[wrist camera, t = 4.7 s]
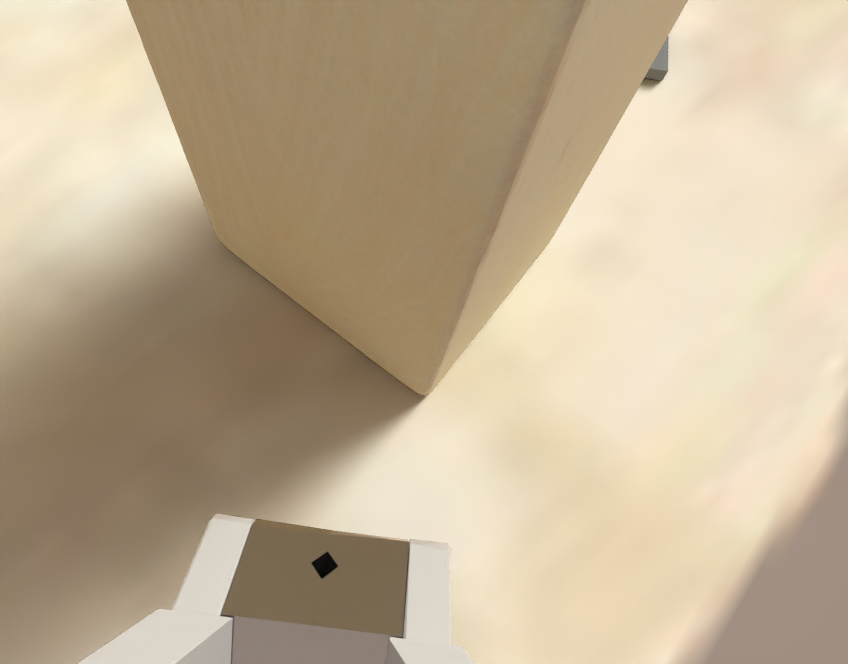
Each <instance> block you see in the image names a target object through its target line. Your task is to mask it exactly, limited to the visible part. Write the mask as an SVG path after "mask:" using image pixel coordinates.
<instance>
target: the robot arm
mask: <svg viewBox="0 0 848 664" xmlns="http://www.w3.org/2000/svg"><path fill="white" fill-rule="evenodd" d="M77 664H476V663H475V662H474V661H473V659H472V658H471V657H470V655H469V654H468V652H467V651H466V650H465V648H464V647H462V646H456V645H451V559H450V547H449V545H448V543H441V542H431V541H422V540H413V539H410V540H409V541H408V540H406V539H398V538H390V537H382V536H373V535H365V534H357V533H349V532H341V531H333V530H326V529H320V528H313V527H307V526H300V525H293V524H287V523H280V522H274V521H267V520H261V519H256V520H254V519H249V518H243V517H236V516H230V515H223V514H217V513H216V514H215V515H214V517H213V518H212V519H211V520H210V521H209V523H208V525H207V527H206V530H205V532H204V534H203V537H202V539H201V541H200V544H199V546H198V548H197V550H196V553H195V555H194V557H193V560H192V562H191V564H190V567H189V569H188V571H187V573H186V576H185V578H184V580H183V583H182V585H181V587H180V590H179V592H178V594H177V596H176V599H175V601H174V603H173V606H172V608H171V610H167V609H157V610H155V611H154V612H152V613H151V614H149V615H148V616H146V617H145V618H144V619H142V620H141V621H139V622H138V623H136V624H135V625H133V626H132V627H130V628H129V629H127V630H126V631H124V632H123V633H121V634H120V635H118V636H117V637H115V638H114V639H112V640H111V641H110V642H108V643H107V644H105V645H104V646H102V647H101V648H99V649H98V650H96V651H95V652H93V653H92V654H90V655H89V656H87V657H86V658H84V659H83V660H81V661H80V662H78V663H77Z"/></svg>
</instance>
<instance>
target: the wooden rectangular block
mask: <svg viewBox="0 0 848 664" xmlns="http://www.w3.org/2000/svg"><path fill="white" fill-rule="evenodd" d="M126 1H127V4H128V7H129V9H130V12H131V14H132V17H133V20H134V22H135V25H136V27H137V30H138V32H139V35H140V37H141V40H142V43H143V46H144V48H145V51H146V54H147V56H148V59H149V61H150V64H151V66H152V69H153V72H154V74H155V77H156V79H157V82H158V84H159V87H160V89H161V92H162V94H163V97H164V100H165V103H166V105H167V108H168V111H169V113H170V116H171V118H172V121H173V124H174V126H175V129H176V131H177V134H178V137H179V139H180V142H181V145H182V147H183V150H184V153H185V155H186V158H187V161H188V163H189V166H190V168H191V171H192V173H193V176H194V178H195V181H196V184H197V186H198V189H199V192H200V194H201V197H202V200H203V202H204V205H205V208H206V210H207V213H208V216H209V218H210V221H211V224H212V226H213V229H214V232H215V234H216V235H217V237H218V239H219V240H220V241H221V242H222V243H223V244H224V245H225V246H226V247H227V248H228V249H229V250H230V251H231V252H232V253H234V254H235V255H236V256H237V257H239V258H240V259H241V260H242V261H244V262H245V263H246V264H247V265H249V266H250V267H251V268H253V269H254V270H255V271H257V272H258V273H259V274H260V275H262V276H263V277H264V278H266V279H267V280H268V281H269V282H271V283H272V284H273V285H275V286H276V287H277V288H279V289H280V290H281V291H282V292H284V293H285V294H286V295H288V296H289V297H290V298H291V299H293V300H294V301H295V302H297V303H298V304H299V305H301V306H302V307H303V308H305V309H306V310H307V311H309V312H310V313H311V314H312V315H314V316H315V317H316V318H318V319H319V320H320V321H322V322H323V323H324V324H326V325H327V326H328V327H330V328H331V329H332V330H333V331H335V332H336V333H337V334H339V335H340V336H341V337H343V338H344V339H345V340H347V341H348V342H349V343H350V344H352V345H353V346H354V347H356V348H357V349H358V350H360V351H361V352H362V353H363V354H365V355H366V356H367V357H368V358H370V359H371V360H372V361H374V362H375V363H376V364H378V365H379V366H380V367H382V368H383V369H384V370H386V371H387V372H388V373H390V374H391V375H392V376H394V377H395V378H396V379H398V380H399V381H400V382H402V383H403V384H404V385H406V386H407V387H408V388H410V389H412V390H413V391H415V392H416V393H418V394H421V395H429V394H430V393H431V391H432V390H433V389H434V388H435V387H436V385H437V384H438V383H439V382H440V380H441V379H442V378H443V376H444V375H445V374H446V373H447V371H448V370H449V369H450V368H451V366H452V365H453V364H454V363H455V361H456V360H457V359H458V357H459V356H460V355H461V354H462V352H463V351H464V350H465V349H466V347H467V346H468V345H469V344H470V342H471V341H472V340H473V339H474V337H475V336H476V335H477V333H478V332H479V331H480V330H481V329H482V327H483V326H484V325H485V324H486V323H487V321H488V320H489V318H490V317H491V316H492V314H493V313H494V312H495V311H496V309H497V308H498V307H499V306H500V304H501V303H502V302H503V301H504V299H505V298H506V297H507V296H508V294H509V293H510V292H511V290H512V289H513V288H514V287H515V285H516V284H517V283H518V282H519V280H520V279H521V278H522V277H523V275H524V274H525V273H526V272H527V270H528V269H529V268H530V266H531V265H532V264H533V263H534V261H535V260H536V259H537V258H538V256H539V255H540V254H541V253H542V251H543V250H544V249H545V247H546V246H547V245H548V244H549V242H550V241H551V239H552V237H553V236H554V234H555V232H556V231H557V229H558V227H559V225H560V224H561V222H562V220H563V219H564V217H565V215H566V214H567V212H568V210H569V208H570V206H571V205H572V203H573V201H574V200H575V198H576V196H577V194H578V193H579V191H580V189H581V188H582V186H583V184H584V182H585V181H586V179H587V177H588V175H589V174H590V172H591V170H592V168H593V167H594V165H595V163H596V161H597V160H598V158H599V156H600V154H601V153H602V151H603V149H604V147H605V146H606V144H607V142H608V140H609V139H610V137H611V135H612V133H613V132H614V130H615V128H616V126H617V124H618V123H619V121H620V119H621V117H622V116H623V114H624V112H625V110H626V109H627V107H628V105H629V104H630V102H631V100H632V98H633V97H634V95H635V93H636V91H637V90H638V88H639V86H640V84H641V83H642V81H643V79H644V77H645V75H646V74H647V72H648V70H649V68H650V67H651V65H652V63H653V61H654V60H655V58H656V56H657V54H658V52H659V51H660V49H661V47H662V45H663V44H664V42H665V40H666V38H667V36H668V35H669V33H670V31H671V29H672V28H673V26H674V24H675V22H676V20H677V19H678V17H679V15H680V13H681V12H682V10H683V8H684V6H685V4H686V3H687V1H688V0H126Z"/></svg>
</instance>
